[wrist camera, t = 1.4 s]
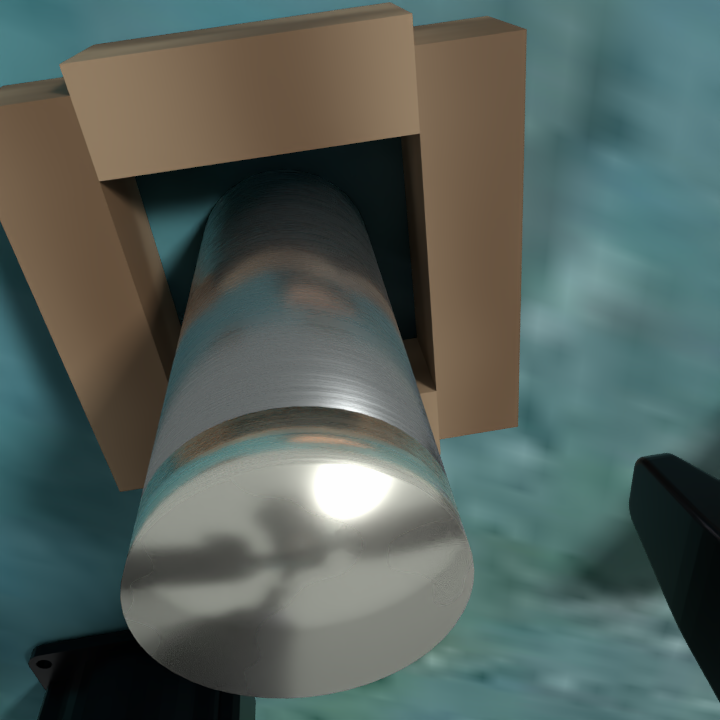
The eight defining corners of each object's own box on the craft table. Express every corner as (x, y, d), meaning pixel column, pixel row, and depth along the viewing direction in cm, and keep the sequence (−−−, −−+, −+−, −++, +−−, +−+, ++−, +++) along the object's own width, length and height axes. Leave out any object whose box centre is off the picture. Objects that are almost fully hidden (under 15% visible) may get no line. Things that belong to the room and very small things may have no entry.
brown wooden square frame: (143, 442, 18) (126, 506, 16) (-7, 59, 13) (-61, 81, 11) (490, 385, 19) (517, 441, 17) (486, -12, 13) (527, -4, 11)
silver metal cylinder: (224, 334, 17) (176, 720, 8) (183, 183, 15) (64, 503, 6) (376, 310, 17) (477, 668, 9) (358, 157, 15) (470, 436, 6)
